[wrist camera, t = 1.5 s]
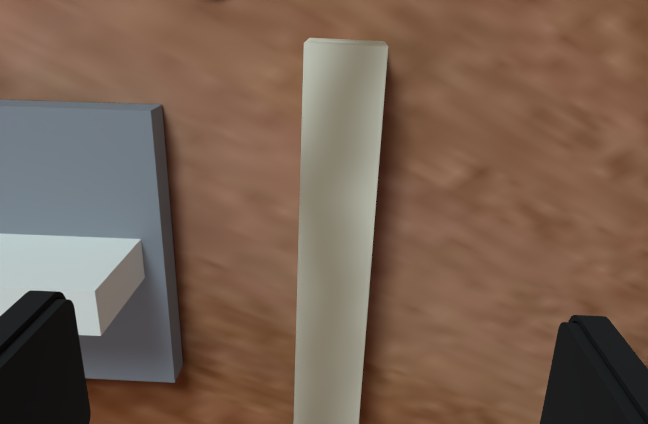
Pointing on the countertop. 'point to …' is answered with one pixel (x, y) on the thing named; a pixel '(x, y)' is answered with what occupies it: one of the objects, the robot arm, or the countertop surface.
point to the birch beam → (336, 223)
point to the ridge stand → (93, 228)
